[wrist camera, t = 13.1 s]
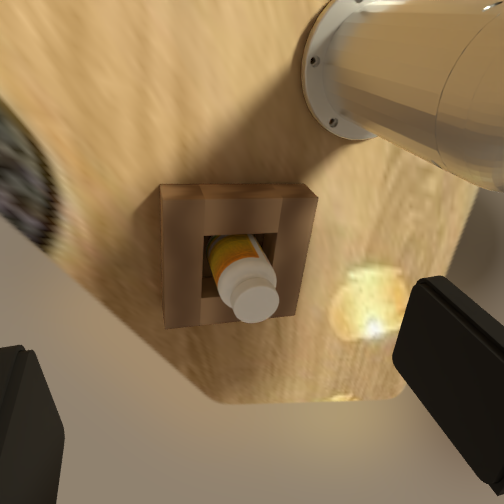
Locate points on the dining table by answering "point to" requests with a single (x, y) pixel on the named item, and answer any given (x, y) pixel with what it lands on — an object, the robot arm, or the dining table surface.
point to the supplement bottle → (243, 276)
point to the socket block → (230, 223)
